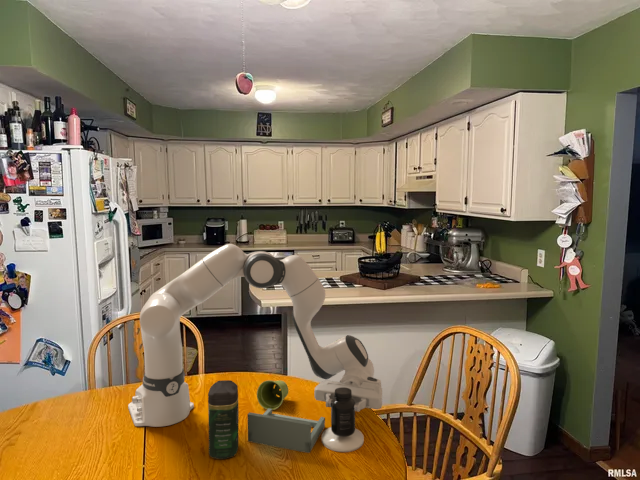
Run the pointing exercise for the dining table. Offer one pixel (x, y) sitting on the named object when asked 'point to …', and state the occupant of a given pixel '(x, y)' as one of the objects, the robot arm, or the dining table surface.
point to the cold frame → (284, 431)
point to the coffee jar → (223, 419)
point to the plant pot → (271, 394)
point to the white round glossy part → (342, 441)
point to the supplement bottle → (343, 413)
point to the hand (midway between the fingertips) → (342, 406)
